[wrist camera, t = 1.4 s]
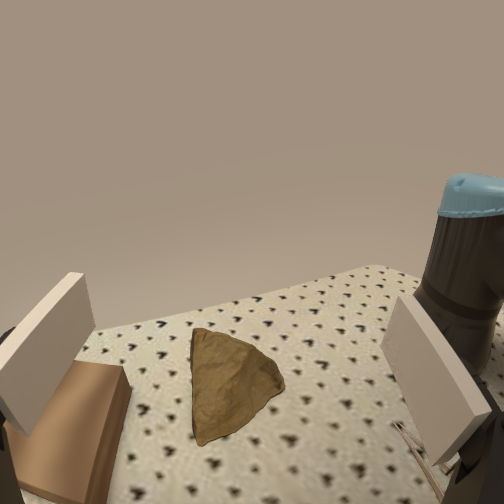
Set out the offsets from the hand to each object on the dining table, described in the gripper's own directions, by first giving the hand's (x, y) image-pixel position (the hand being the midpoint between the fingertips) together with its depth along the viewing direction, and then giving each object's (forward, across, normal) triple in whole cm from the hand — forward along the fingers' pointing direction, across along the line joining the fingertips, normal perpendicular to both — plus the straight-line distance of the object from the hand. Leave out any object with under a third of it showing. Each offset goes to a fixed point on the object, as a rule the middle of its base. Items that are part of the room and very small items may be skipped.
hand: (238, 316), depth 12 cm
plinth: (+2, -18, -19) cm, 26 cm away
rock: (+10, +1, -18) cm, 21 cm away
